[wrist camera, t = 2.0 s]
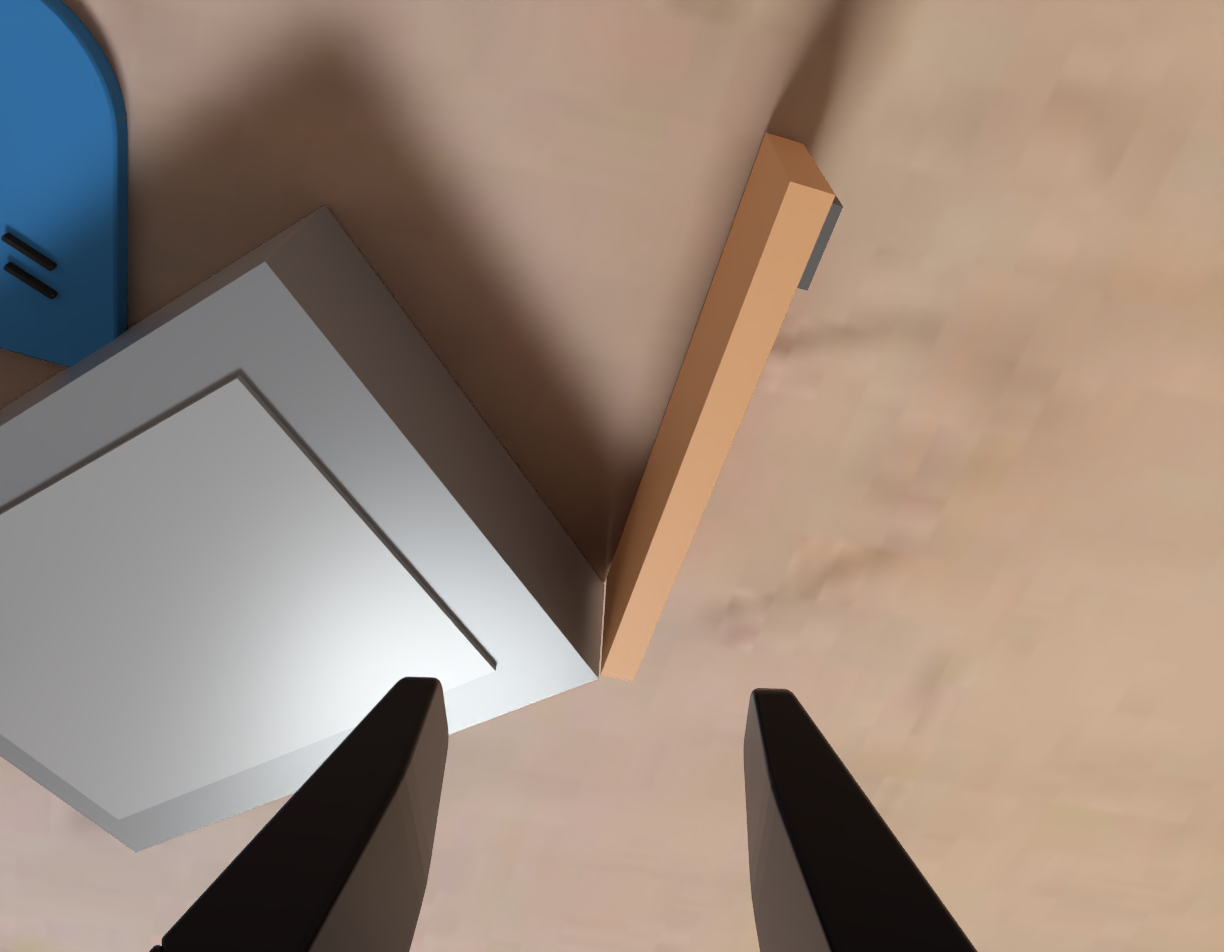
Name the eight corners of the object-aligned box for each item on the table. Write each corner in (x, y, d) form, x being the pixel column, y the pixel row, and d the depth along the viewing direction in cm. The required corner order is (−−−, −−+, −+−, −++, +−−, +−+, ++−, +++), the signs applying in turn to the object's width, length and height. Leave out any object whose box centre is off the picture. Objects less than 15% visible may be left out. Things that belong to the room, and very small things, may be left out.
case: (187, 756, 29) (133, 857, 26) (-135, 495, 23) (-252, 584, 20) (604, 584, 24) (598, 683, 21) (325, 204, 19) (262, 264, 16)
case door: (606, 576, 24) (600, 674, 21) (766, 132, 17) (790, 181, 14) (648, 587, 24) (649, 685, 21) (822, 149, 17) (858, 202, 14)
